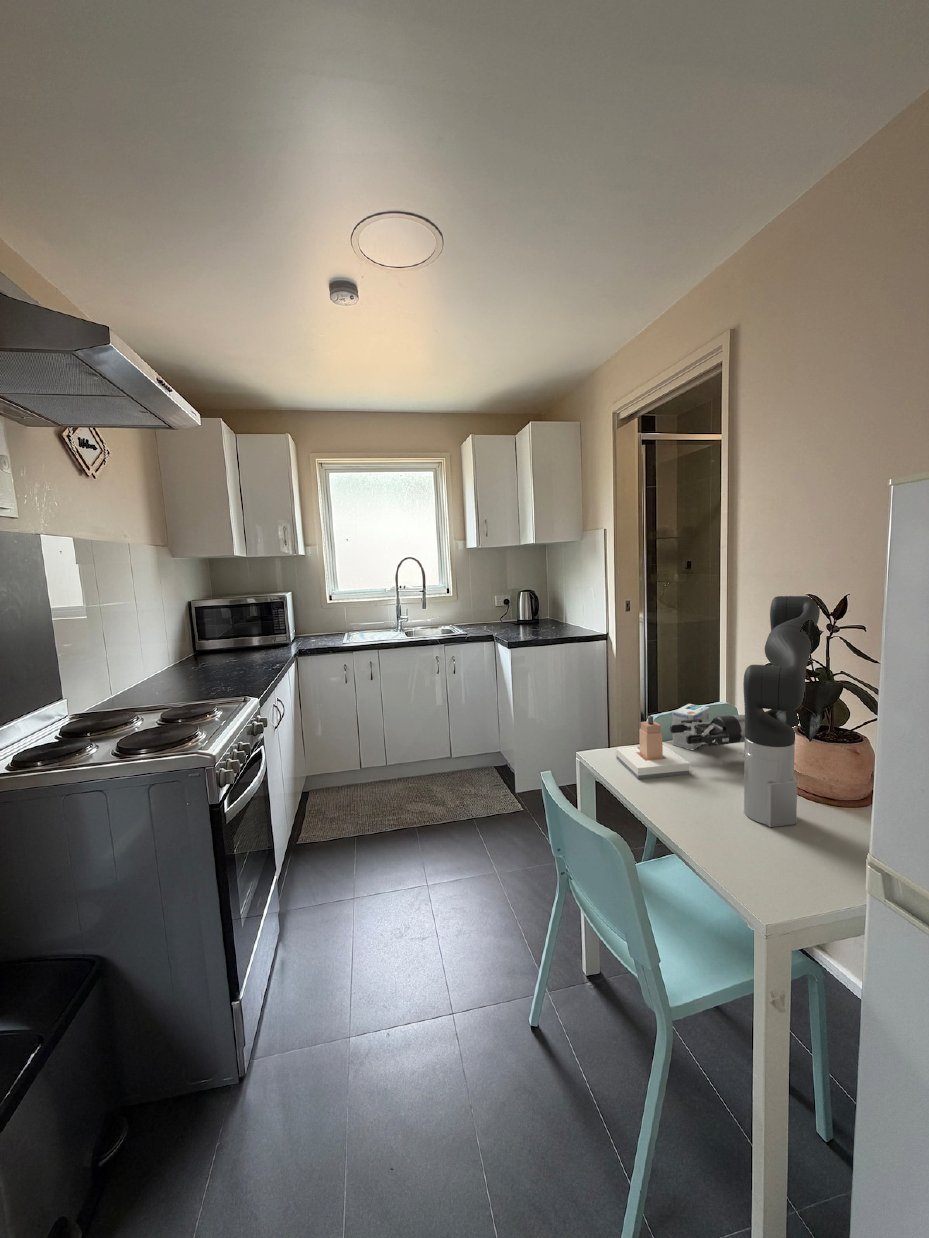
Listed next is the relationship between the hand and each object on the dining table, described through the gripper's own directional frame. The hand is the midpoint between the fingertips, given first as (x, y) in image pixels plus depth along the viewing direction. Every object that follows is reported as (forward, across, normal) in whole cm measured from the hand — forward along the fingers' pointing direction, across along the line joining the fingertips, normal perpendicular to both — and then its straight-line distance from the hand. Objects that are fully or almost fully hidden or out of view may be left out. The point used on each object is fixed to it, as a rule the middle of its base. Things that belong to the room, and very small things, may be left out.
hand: (678, 734), depth 139 cm
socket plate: (+8, 0, +8) cm, 12 cm away
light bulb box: (-11, -13, +9) cm, 19 cm away
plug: (+8, 0, +7) cm, 11 cm away
